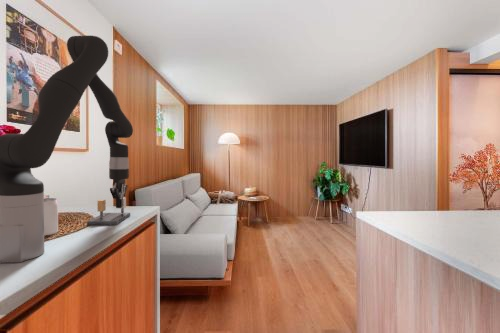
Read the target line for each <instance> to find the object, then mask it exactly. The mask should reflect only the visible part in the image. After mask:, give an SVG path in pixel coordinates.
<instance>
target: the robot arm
mask: <svg viewBox="0 0 500 333" xmlns="http://www.w3.org/2000/svg"><path fill="white" fill-rule="evenodd" d="M66 50H67V52H68V54H69V56H70V58H71V60H72V61H73V62H71V63H70V64H68V65H66V66H64V67H63V68H61V69H59V70H57V71H56V72H54V73H53V74H51V76H50V77H49V78H48V79H47V81H46V82H45V84H44V85H43V86H42V87H41V89H40V91H39V93H38V97H37V103H38V105H37V106H38V114H37V117H36V119H35V120H34V122H33V123H32V125H31V126H30V127H29V128H28V130H27V131H25V133H4V134H0V264H2V263H5V264H6V263H22V262H25V261H28V260H32V259H34V258H37V257H39V256H42V255H43V254H44V252H45V236H44V199H45V193H44V192H45V185H44V182H43V181H41V180H39V179H38V178H36V177H35V176H34V175H33V173H32V170H31V169H37V168H41V167H42V166H44V165H45V164H46V163H47V162H48V161H49V160H50V159H51V156H52V154H53V152H54V149H55V148H56V145H57V143H58V140H59V138H60V136H61V134H62V131H63V129H64V128H65V126H66V124H67V123H68V121H69V118H70V117H71V115H72V114H73V112H74V110H75V108H76V107H77V106H78V104H79V102H80V101H81V99H82V97H83V95H84V92H85V91H86V89H87V88H88V87H89V89H90V91H91V92H92V93H93V95H94V98H95V100H96V102H97V104H98V107H99V108H100V111H101V113H102V115H103V117H104V118H105V119H107V120H110V121H108V122H107V123H106V125H105V127H104V131H105V135H106V138H107V142H108V146H109V161H108V162H109V164H108V166H109V167H108V168H109V172H108V175H109V177H108V178H109V180H112V187H110V188H109V191H110V194H111V196H112V199H114V200H115V209H121V208H122V207H123V198H126V193H127V190H128V186H129V185H128V184H126V180H128V179H129V178H130V161H129V145H128V144H126V143H122V142H121V141H120V139H121V138H122V139H128V138H130V137H132V136H133V132H134V128H133V125H132V123H131V121H130V120H129V119H128V117H127V116H126V114H125V113H124V112H123V110H122V109H121V106H120V103H119V101H118V98H117V96H116V94H115V93H114V91H113V90H112V89H111V88H110V87H109V86H108V84H106V82H105V81H104V80H103V79H102V78H101V77H100V76H99V74H98V72H100V70H101V69H102V68H103V66H104V65H105V64H106V62H107V60H108V58H109V47H108V44H107V43H106V41H105V40H104V39H102V38H101V37H99V36H98V35H97V36H96V35H72V36H70V37H69V38H68V39H67V41H66Z"/></svg>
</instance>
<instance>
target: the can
mask: <svg viewBox="0 0 500 333" xmlns="http://www.w3.org/2000/svg"><path fill="white" fill-rule="evenodd" d="M58 232H59V203H58V202H57V198H54V197H53V198H52V197H51V198H50V197H49V198H44V237H47V236H46V235H48V236H53V235H55V234H57V233H58ZM52 234H53V235H52Z"/></svg>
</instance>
